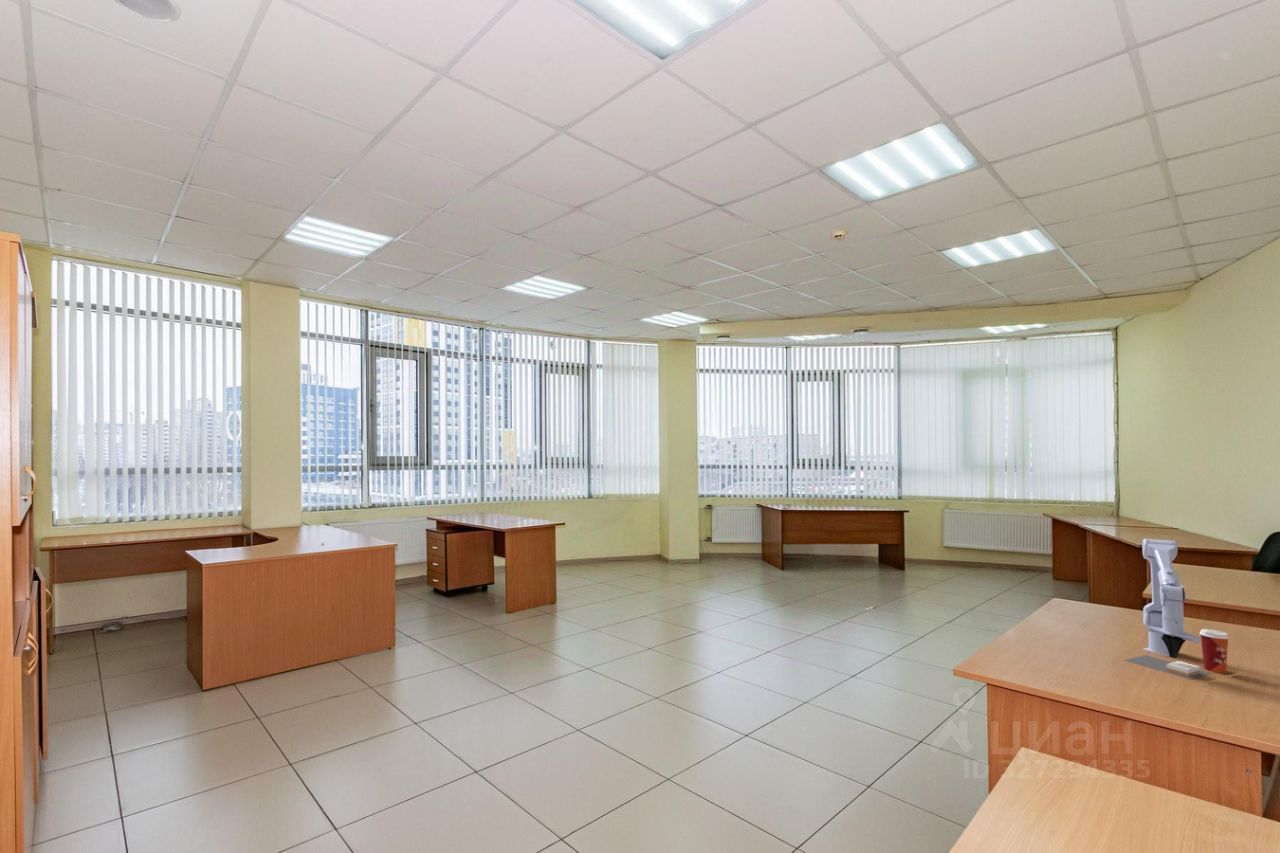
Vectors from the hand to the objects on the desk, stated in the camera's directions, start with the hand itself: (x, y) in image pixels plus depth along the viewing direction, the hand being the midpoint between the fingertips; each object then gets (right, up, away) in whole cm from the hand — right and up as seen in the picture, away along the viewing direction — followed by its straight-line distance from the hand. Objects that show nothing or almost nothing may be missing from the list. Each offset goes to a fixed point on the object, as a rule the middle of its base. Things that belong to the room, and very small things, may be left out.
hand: (1173, 657), depth 212 cm
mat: (0, -5, +3) cm, 5 cm away
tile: (0, -3, 0) cm, 3 cm away
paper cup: (+15, -5, 0) cm, 15 cm away
